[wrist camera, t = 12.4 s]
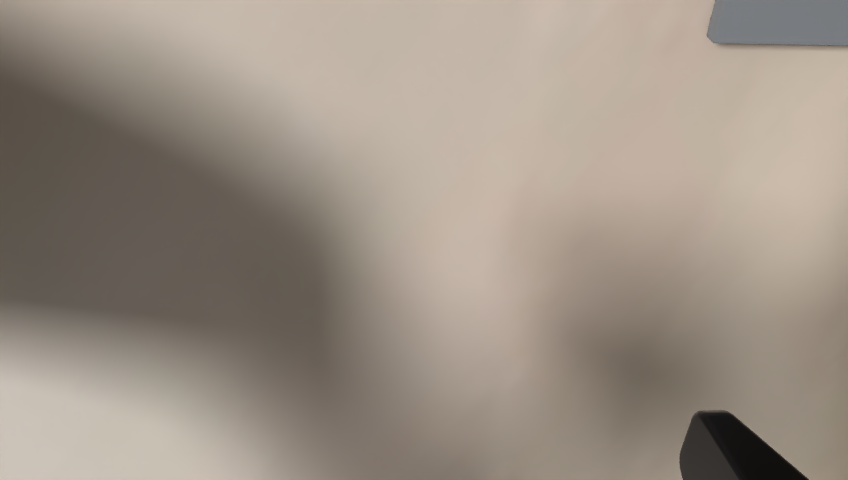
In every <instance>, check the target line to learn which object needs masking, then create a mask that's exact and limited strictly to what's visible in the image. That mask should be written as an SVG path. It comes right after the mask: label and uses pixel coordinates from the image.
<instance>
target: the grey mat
mask: <svg viewBox="0 0 848 480" xmlns="http://www.w3.org/2000/svg"><path fill="white" fill-rule="evenodd" d="M707 37H708V38H709V39H710V40H711V41H712V42H713V43H734V44H793V45H848V0H716V1H715V5H714V9H713V12H712V16H711V20H710V24H709V28H708V32H707Z"/></svg>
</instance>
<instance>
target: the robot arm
mask: <svg viewBox="0 0 848 480" xmlns="http://www.w3.org/2000/svg"><path fill="white" fill-rule="evenodd" d="M680 470H681V474H682V478H683V480H809V479H808V478H807V477H805V476H804V475H803V474H802V473H801V472H799V471H798V470H797V469H796V468H795V467H794V466H792V465H791V464H790V463H789V462H788V461H787V460H785V459H784V458H783V457H782V456H781V455H780V454H778V453H777V452H776V451H775V450H774V449H773V448H771V447H770V446H769V445H768V444H767V443H766V442H764V441H763V440H762V439H761V438H760V437H759V436H757V435H756V434H755V433H754V432H753V431H751V430H750V429H749V428H748V427H747V426H746V425H744V424H743V423H742V422H741V421H740V420H739V419H737V418H736V417H735V416H734V415H733V414H731V413H729V412H727V411H723V410H713V411H698V412H697V413H695V414H694V415H693V417H692V420H691V423H690V425H689V428H688V431H687V434H686V437H685V440H684V442H683V445H682V448H681V452H680Z"/></svg>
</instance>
